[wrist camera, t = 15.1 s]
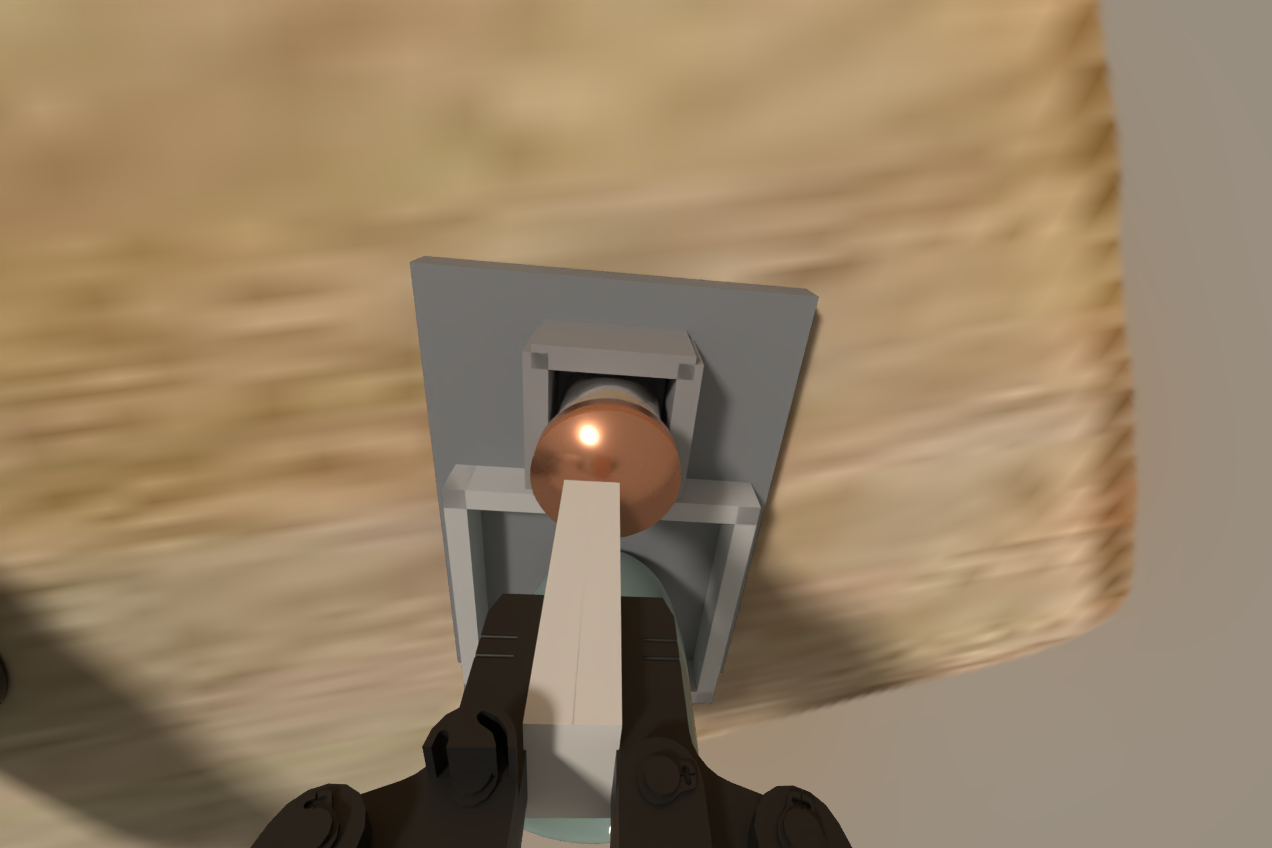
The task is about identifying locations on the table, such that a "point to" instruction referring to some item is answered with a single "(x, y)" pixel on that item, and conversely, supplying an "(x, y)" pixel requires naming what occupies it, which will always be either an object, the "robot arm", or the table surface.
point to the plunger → (609, 448)
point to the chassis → (531, 397)
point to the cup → (647, 584)
